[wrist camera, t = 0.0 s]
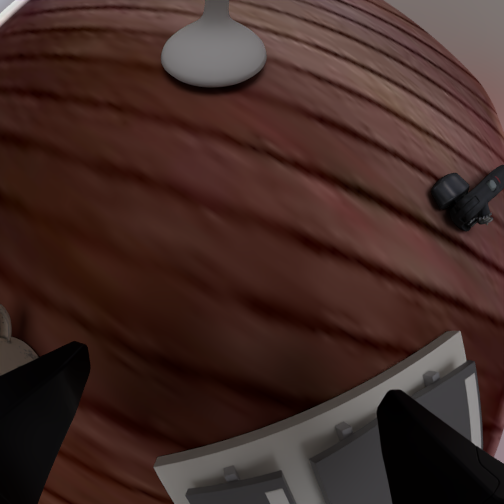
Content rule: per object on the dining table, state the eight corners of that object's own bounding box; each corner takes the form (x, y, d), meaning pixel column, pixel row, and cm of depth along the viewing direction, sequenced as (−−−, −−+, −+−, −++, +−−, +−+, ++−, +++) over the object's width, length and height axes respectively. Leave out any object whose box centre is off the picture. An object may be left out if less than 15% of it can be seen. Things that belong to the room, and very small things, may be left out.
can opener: (447, 247, 27) (483, 233, 21) (418, 189, 28) (450, 166, 23) (507, 202, 31) (533, 188, 25) (485, 159, 32) (509, 142, 26)
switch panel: (465, 456, 21) (484, 463, 18) (233, 572, 16) (236, 592, 13) (447, 331, 25) (469, 330, 21) (157, 456, 19) (150, 475, 16)
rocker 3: (477, 455, 18) (483, 459, 16) (422, 492, 17) (426, 497, 16) (468, 359, 20) (475, 361, 19) (405, 398, 19) (411, 402, 18)
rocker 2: (403, 504, 17) (411, 508, 16) (343, 547, 14) (349, 552, 13) (383, 412, 19) (392, 414, 18) (308, 459, 17) (316, 464, 16)
